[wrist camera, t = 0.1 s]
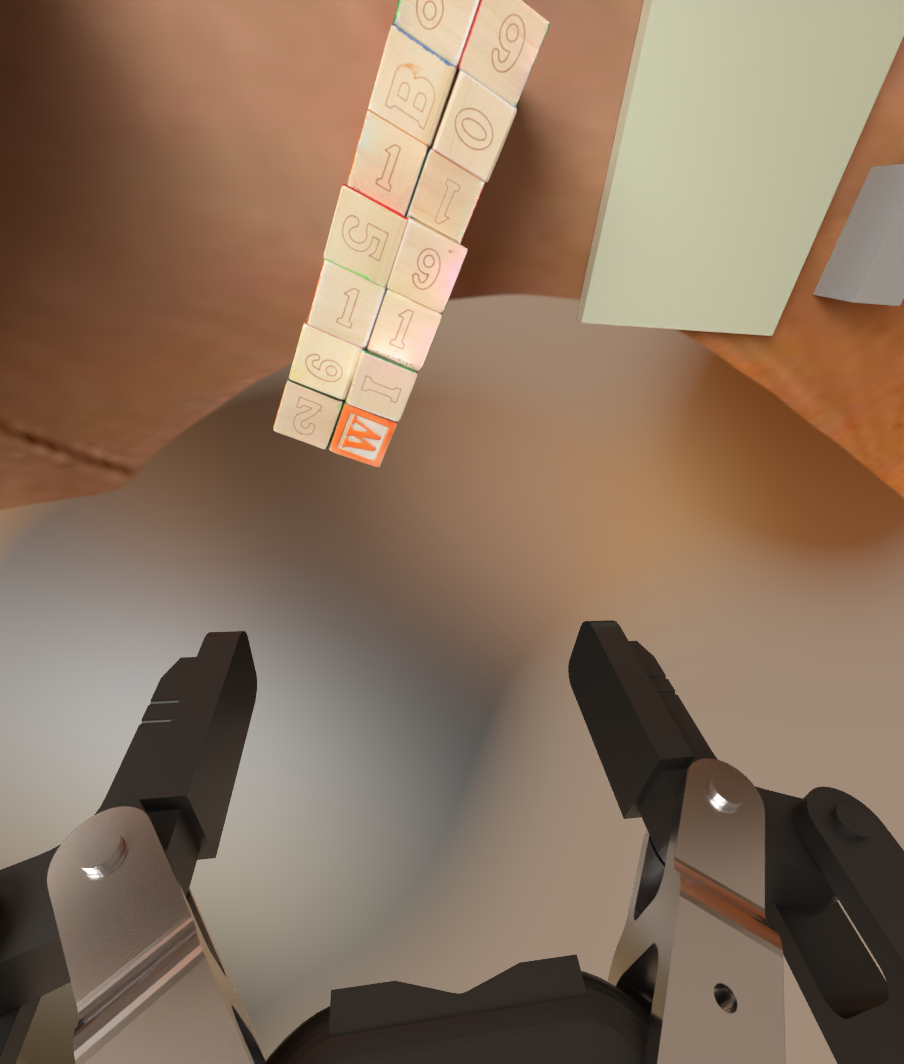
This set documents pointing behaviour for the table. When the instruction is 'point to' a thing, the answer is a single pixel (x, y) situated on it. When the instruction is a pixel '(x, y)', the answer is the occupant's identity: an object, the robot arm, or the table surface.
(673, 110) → the sage baseplate
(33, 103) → the table surface
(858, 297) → the slate brick
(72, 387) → the table surface
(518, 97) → the stack of blocks
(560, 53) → the table surface
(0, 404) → the table surface
